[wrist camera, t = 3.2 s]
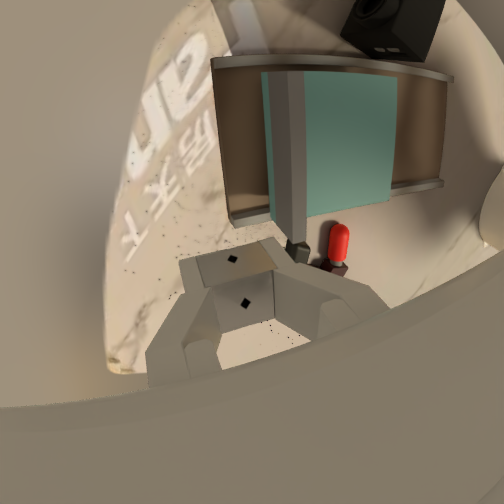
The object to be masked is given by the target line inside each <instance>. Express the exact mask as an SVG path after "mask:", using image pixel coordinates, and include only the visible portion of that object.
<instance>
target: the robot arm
mask: <svg viewBox="0 0 504 504" xmlns="http://www.w3.org/2000/svg"><path fill="white" fill-rule="evenodd" d="M479 232H480V235H481V237H482V239H483V247H487V246H488V245H490V246H492V247H493V248H495V249H496V250H498V251H500V252H499V253H497V254H495V255H494V256H492V257H490V258H489V259H487V260H485V261H484V262H482V263H480V264H478V265H477V266H475V267H473V268H471V269H470V270H468V271H466V272H464V273H462V274H460V275H459V276H457V277H455V278H453V279H451V280H449V281H447V282H445V283H443V284H442V285H440V286H438V287H436V288H434V289H432V290H430V291H428V292H426V293H424V294H422V295H420V296H418V297H416V298H414V299H412V300H409V301H407V302H405V303H403V304H401V305H399V306H397V307H394V308H392V309H390V308H389V307H388V306H387V304H386V303H385V302H384V301H383V300H382V299H381V298H380V297H379V296H378V295H377V294H376V293H375V292H374V291H373V290H372V289H371V288H370V287H369V286H368V285H365V284H362V283H359V282H356V281H353V280H350V279H347V278H345V277H342V276H339V275H336V274H333V273H330V272H327V271H324V270H321V269H318V268H315V267H312V266H309V265H306V264H303V263H295V262H294V261H293V260H292V258H291V257H290V256H289V255H288V253H287V252H286V251H285V250H284V249H283V247H282V246H281V245H280V244H279V242H278V241H277V240H276V239H275V238H274V237H270V238H267V239H263V240H260V241H257V242H253V243H249V244H246V245H242V246H238V247H235V248H231V249H225V250H221V251H216V252H212V253H207V254H203V255H199V256H195V257H190V258H186V259H182V260H179V267H180V272H181V276H182V281H183V285H184V289H185V293H184V294H181V295H180V296H179V298H178V300H177V301H176V303H175V304H174V306H173V308H172V309H171V311H170V312H169V314H168V316H167V317H166V319H165V320H164V322H163V324H162V325H161V327H160V329H159V330H158V332H157V334H156V335H155V337H154V338H153V340H152V342H151V343H150V345H149V347H148V348H147V350H146V352H145V356H146V366H147V375H148V384H149V388H148V389H143V390H138V391H133V392H128V393H122V394H117V395H111V396H105V397H99V398H93V399H86V400H79V401H71V402H63V403H55V404H45V405H34V406H21V407H3V408H0V504H504V165H503V167H502V169H501V171H500V173H499V174H498V176H497V177H496V179H495V180H494V182H493V183H492V185H491V187H490V189H489V191H488V193H487V195H486V198H485V200H484V203H483V206H482V210H481V214H480V220H479ZM274 318H275V319H276V320H277V321H279V322H281V323H282V324H284V325H286V326H287V327H289V328H291V329H292V330H294V331H296V332H297V333H299V334H301V335H302V336H304V337H306V338H308V339H309V340H311V342H308V343H306V344H303V345H300V346H297V347H294V348H291V349H289V350H286V351H283V352H280V353H277V354H274V355H271V356H268V357H265V358H261V359H258V360H255V361H252V362H249V363H245V364H242V365H239V366H235V367H232V368H228V369H225V370H222V368H221V365H220V363H219V360H218V357H217V354H216V352H217V349H218V346H219V343H220V340H221V337H222V334H223V333H226V332H229V331H233V330H236V329H239V328H242V327H245V326H248V325H252V324H256V323H260V322H263V321H267V320H270V319H274Z"/></svg>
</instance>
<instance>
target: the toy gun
mask: <svg viewBox="0 0 504 504" xmlns="http://www.w3.org/2000/svg"><path fill="white" fill-rule="evenodd" d="M348 240H349V230H348V228H347V227H346V226H345V225H343V224H336V225H334V226H333V227H332V228H331V230H330V238H329V247H328V258H329V259H324V261H323V263H322V265H321V266H320V268H319V266H316V265H312V264H307V262H308V258H309V254H310V247H309V246H308V245H307V243H306V242H305V241H303V242H299V243H295V244H292V243H291V241H290V240H289V239H287V243H286V248H285V251H286V252H287V253H288V255H289V256H290V257H291V258H292V260H293V261H294V262H295V263H303V264H306V265H309V266H312V267H315V268H318V269H321V270H324V271H327V272H330V273H333V274H336V275H339V276H342V277H343V276H344V275H345V273H346V271H347V270H348V267H347V266H346V265H345V264H344V262H343V260H345V258H346V254H347V247H348Z"/></svg>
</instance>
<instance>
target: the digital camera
mask: <svg viewBox="0 0 504 504" xmlns="http://www.w3.org/2000/svg"><path fill="white" fill-rule="evenodd" d="M445 1H446V0H356V2H355V3H354V5H353V8H352V10H351V12H350V14H349V17H348V19H347V21H346V23H345V25H344V27H343V29H342V32H341V34H340V36H341V37H343V38H344V39H346V40H347V41H349V42H350V43H351V44H353V45H354V46H356V47H357V48H358V49H360V50H361V51H363V52H364V53H365V54H367V55H368V56H369V57H371V58H372V59H384V60H399V61H410V62H422V63H424V62H425V59H426V57H427V54H428V51H429V49H430V46H431V43H432V41H433V38H434V35H435V32H436V29H437V26H438V23H439V20H440V17H441V14H442V11H443V8H444V5H445Z"/></svg>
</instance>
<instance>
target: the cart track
mask: <svg viewBox="0 0 504 504" xmlns="http://www.w3.org/2000/svg"><path fill="white" fill-rule="evenodd" d="M210 62H211V72H212V81H213V91H214V100H215V109H216V118H217V127H218V136H219V145H220V153H221V162H222V170H223V178H224V187H225V195H226V203H227V211H228V218H229V220H230V222H231V224H232V225H233V227H234V228H235V229H236V228H241V227H245V226H250V225H254V224H259V223H263V222H268V221H272V219H271V218H270V204H269V193H268V188H269V184H268V167H267V151H266V136H265V121H264V107H263V93H262V88H261V72H277V71H325V72H346V73H360V74H371V75H381V76H389V77H397V116H396V135H395V150H394V161H393V172H392V181H391V190H390V197H391V196H396V195H402V194H407V193H412V192H418V191H424V190H429V189H435V188H441V187H443V186H444V181H443V180H441V179H439V172H440V165H441V158H442V150H443V141H444V131H445V119H446V103H447V82H451V83H454V77H453V76H450V75H447V74H443V73H439V72H435V71H431V70H427V69H422V68H418V67H413V66H408V65H403V64H397V63H391V62H385V61H378V60H371V59H363V58H354V57H344V56H332V55H314V54H256V55H238V56H226V57H215V58H211V59H210Z"/></svg>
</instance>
